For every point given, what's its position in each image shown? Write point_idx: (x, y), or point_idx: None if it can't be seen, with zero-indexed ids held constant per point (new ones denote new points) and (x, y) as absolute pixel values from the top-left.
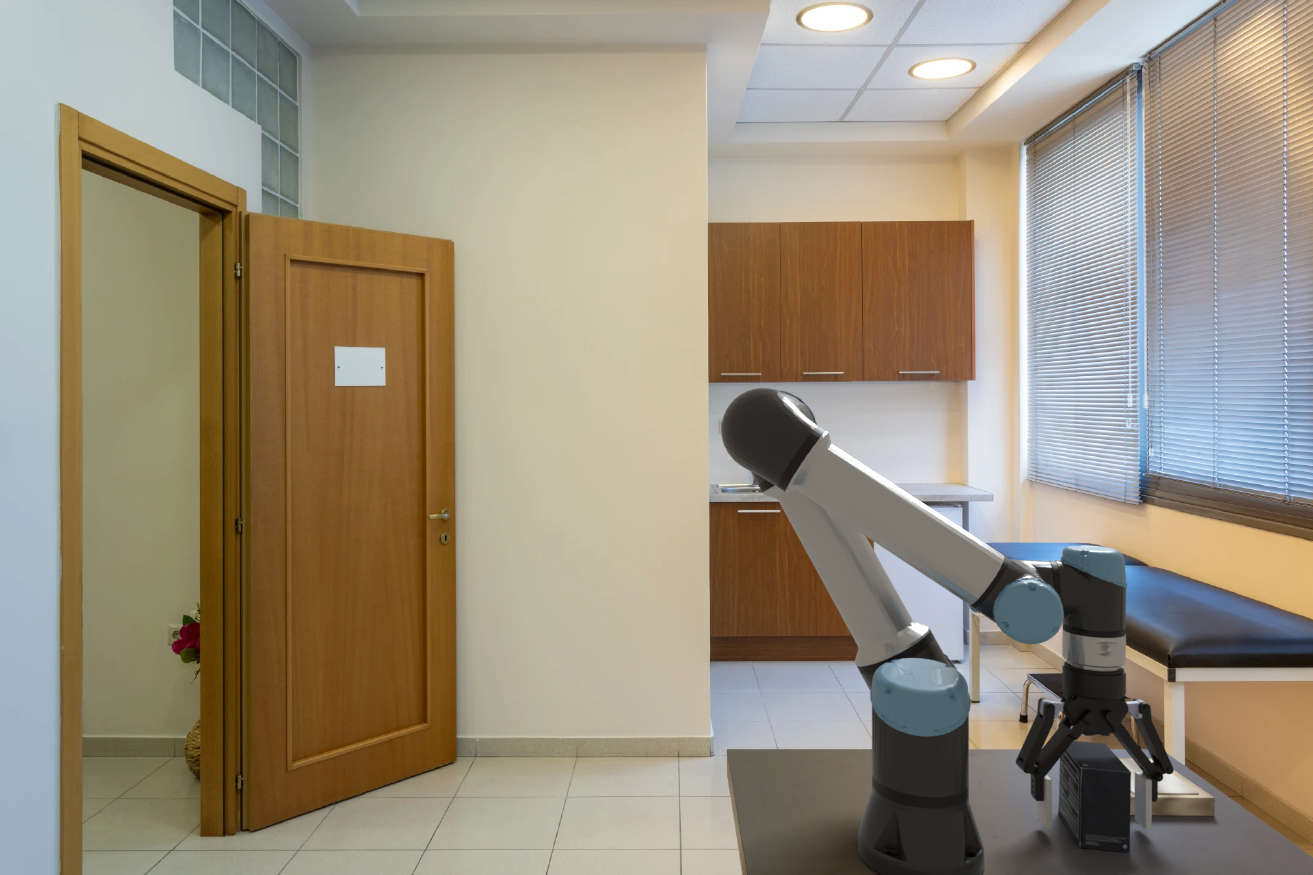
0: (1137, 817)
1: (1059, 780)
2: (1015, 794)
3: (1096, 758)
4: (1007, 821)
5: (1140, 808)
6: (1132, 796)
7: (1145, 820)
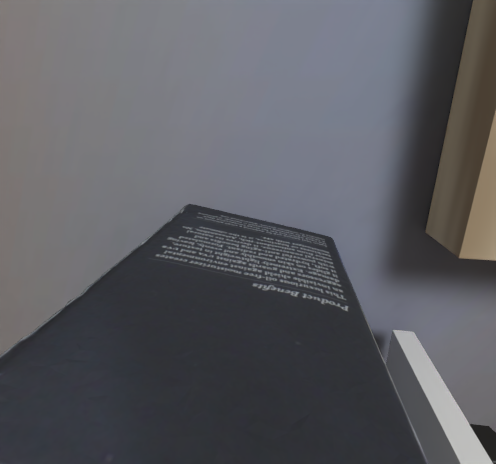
0: (395, 354)
1: (138, 246)
2: (80, 36)
3: None
4: (14, 254)
5: (405, 406)
6: (493, 251)
7: None
